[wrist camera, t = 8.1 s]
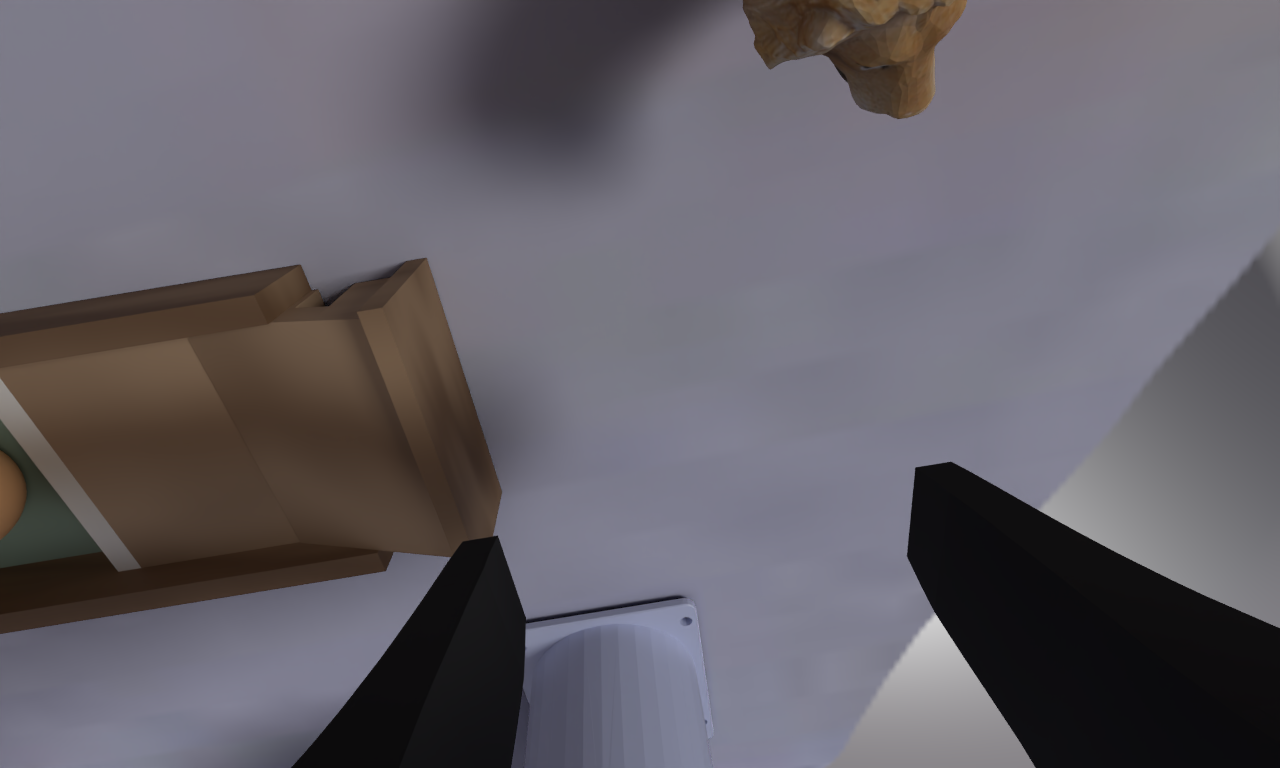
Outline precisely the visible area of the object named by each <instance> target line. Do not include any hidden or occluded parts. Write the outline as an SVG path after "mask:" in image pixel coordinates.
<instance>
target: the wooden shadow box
mask: <svg viewBox="0 0 1280 768" xmlns="http://www.w3.org/2000/svg"><path fill="white" fill-rule="evenodd" d="M0 450H1V451H3V452H4V453H5V454H7V455H8V456H9V457H10V458H11V459H12V460H13V461H14V462H15V463H16V464H17V465H18V467H19V469H20V470H21V472H22V474H23V476H24V479H25V482H26V489H27V497H26V503H25V506H24V510H23V512H22V514H21V516H20V518H19V520H18V521H17V523H16V524H15V526H14V527H13V528H12V529H11V530H10V532H9V533H8V534H7V535H6V536H5V537H3V538H2V539H1V540H0V634H2V633H9V632H15V631H21V630H27V629H33V628H39V627H45V626H52V625H58V624H64V623H70V622H76V621H82V620H88V619H95V618H101V617H107V616H113V615H119V614H125V613H131V612H137V611H144V610H150V609H156V608H162V607H168V606H174V605H180V604H187V603H193V602H199V601H205V600H211V599H217V598H223V597H229V596H236V595H242V594H248V593H254V592H260V591H266V590H272V589H279V588H285V587H291V586H297V585H303V584H309V583H315V582H322V581H328V580H334V579H340V578H346V577H352V576H358V575H364V574H371V573H377V572H383V571H386V569H387V567H388V565H389V562H390V560H391V557H392V555H393V552H402V553H413V554H424V555H434V556H445V557H452V555H453V554H454V552H455V551H456V550H457V548H458V547H459V546H460V544H461V543H462V542H463V541H468V540H474V539H480V538H487V537H493V533H494V528H495V523H496V518H497V514H498V509H499V504H500V499H501V495H502V491H501V488H500V484H499V481H498V478H497V475H496V472H495V469H494V466H493V463H492V460H491V456H490V453H489V450H488V447H487V444H486V441H485V438H484V435H483V432H482V429H481V425H480V422H479V419H478V416H477V413H476V410H475V407H474V404H473V401H472V397H471V394H470V391H469V388H468V385H467V382H466V379H465V376H464V373H463V370H462V366H461V363H460V360H459V357H458V354H457V351H456V348H455V345H454V342H453V338H452V335H451V332H450V329H449V326H448V323H447V320H446V317H445V314H444V311H443V307H442V304H441V301H440V298H439V295H438V292H437V289H436V286H435V283H434V279H433V276H432V273H431V270H430V267H429V264H428V261H427V258H423V259H417V260H411V261H406V262H405V263H404V264H403V265H402V266H401V267H400V268H399V269H398V270H397V271H396V272H395V273H394V274H393V275H392V276H391V277H390V278H385V279H378V280H372V281H366V282H360V283H354V284H353V285H352V286H351V287H350V288H349V289H348V290H347V291H346V292H344V293H343V294H342V295H341V296H340V297H339V298H338V299H337V300H335V301H334V302H333V303H332V304H331V305H330V306H325V304H324V302H323V300H322V297H321V295H320V292H319V290H318V289H317V290H311V288H310V286H309V283H308V281H307V279H306V276H305V274H304V272H303V269H302V267H301V265H294V266H288V267H282V268H276V269H270V270H264V271H258V272H252V273H245V274H239V275H233V276H227V277H221V278H215V279H209V280H203V281H197V282H191V283H184V284H178V285H172V286H166V287H160V288H154V289H148V290H142V291H136V292H129V293H123V294H117V295H111V296H105V297H99V298H93V299H87V300H81V301H74V302H68V303H62V304H56V305H50V306H44V307H38V308H32V309H26V310H19V311H13V312H7V313H1V314H0Z"/></svg>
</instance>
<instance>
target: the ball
mask: <svg viewBox="0 0 1280 768" xmlns="http://www.w3.org/2000/svg"><path fill="white" fill-rule="evenodd" d="M26 497H27V489H26V482H25V479H24V476H23V474H22V472H21V470H20V469H19V467H18V465H17V464H16V463H15V462H14V461H13V460H12V459H11V458H10V457H9V456H8V455H7V454H5V453H4V452H3V451H1V450H0V540H1V539H2V538H3V537H5V536H6V535H7V534H8V533H9V532H10V530H11V529H12V528H13V527H14V526H15V524H16V523H17V521H18V520H19V518H20V516H21V514H22V512H23V510H24V506H25V503H26Z"/></svg>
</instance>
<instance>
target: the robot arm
mask: <svg viewBox="0 0 1280 768" xmlns="http://www.w3.org/2000/svg"><path fill="white" fill-rule="evenodd" d="M907 557H908V559H909V561H910V564H911V566H912V568H913V570H914V572H915V574H916V576H917V578H918V580H919V582H920V585H921V587H922V589H923V590H924V592H925V594H926V596H927V598H928V600H929V602H930V604H931V606H932V608H933V610H934V612H935V613H936V615H937V616H938V618H939V620H940V621H941V623H942V624H943V626H944V627H945V629H946V630H947V632H948V634H949V635H950V637H951V638H952V639H953V641H954V643H955V644H956V646H957V647H958V649H959V650H960V652H961V653H962V655H963V657H964V658H965V660H966V661H967V662H968V664H969V666H970V667H971V669H972V670H973V672H974V673H975V675H976V676H977V678H978V679H979V681H980V682H981V684H982V685H983V687H984V688H985V689H986V691H987V693H988V694H989V696H990V697H991V698H992V700H993V702H994V703H995V705H996V706H997V708H998V709H999V711H1000V712H1001V714H1002V715H1003V717H1004V718H1005V720H1006V721H1007V723H1008V724H1009V726H1010V727H1011V729H1012V731H1013V732H1014V733H1015V735H1016V737H1017V738H1018V739H1019V741H1020V743H1021V744H1022V746H1023V748H1024V749H1025V751H1026V753H1027V754H1028V756H1029V757H1030V759H1031V761H1032V762H1033V764H1034V766H1035V767H1036V768H1280V628H1278V627H1275V626H1273V625H1271V624H1268V623H1266V622H1264V621H1262V620H1259V619H1257V618H1255V617H1252V616H1250V615H1248V614H1246V613H1243V612H1241V611H1239V610H1236V609H1234V608H1232V607H1229V606H1227V605H1225V604H1223V603H1220V602H1218V601H1216V600H1213V599H1211V598H1209V597H1206V596H1204V595H1202V594H1200V593H1198V592H1196V591H1194V590H1192V589H1189V588H1187V587H1185V586H1183V585H1181V584H1178V583H1177V582H1174V581H1172V580H1170V579H1168V578H1166V577H1164V576H1162V575H1160V574H1158V573H1156V572H1154V571H1152V570H1150V569H1148V568H1146V567H1144V566H1142V565H1140V564H1138V563H1136V562H1134V561H1132V560H1130V559H1128V558H1126V557H1124V556H1122V555H1120V554H1118V553H1116V552H1114V551H1112V550H1110V549H1108V548H1106V547H1105V546H1103V545H1101V544H1099V543H1097V542H1095V541H1093V540H1092V539H1089V538H1088V537H1086V536H1084V535H1082V534H1080V533H1078V532H1076V531H1075V530H1073V529H1071V528H1069V527H1068V526H1066V525H1064V524H1062V523H1060V522H1058V521H1057V520H1055V519H1053V518H1051V517H1049V516H1048V515H1046V514H1044V513H1042V512H1040V511H1039V510H1037V509H1035V508H1033V507H1032V506H1030V505H1028V504H1026V503H1025V502H1023V501H1021V500H1019V499H1017V498H1016V497H1014V496H1012V495H1010V494H1009V493H1007V492H1005V491H1003V490H1002V489H1000V488H998V487H996V486H995V485H993V484H991V483H989V482H988V481H986V480H984V479H982V478H980V477H979V476H977V475H975V474H973V473H971V472H970V471H968V470H966V469H964V468H962V467H960V466H958V465H956V464H954V463H952V462H947V463H941V464H934V465H928V466H922V467H916V468H915V478H914V489H913V499H912V510H911V520H910V531H909V541H908V552H907ZM685 617H688V618H685ZM522 689H523V690H524V692H525V695H526V698H527V700H528V703H529V706H530V709H529V719H528V730H527V740H526V751H525V761H524V768H713V763H712V758H711V752H710V746H709V741H708V740H709V739H710V738H711V737H712V736H713V734H714V730H713V723H712V716H711V709H710V702H709V695H708V688H707V681H706V674H705V667H704V660H703V652H702V645H701V638H700V631H699V624H698V617H697V610H696V605H695V603H694V601H693V600H691V599H688V598H680V599H674V600H668V601H662V602H656V603H649V604H643V605H637V606H631V607H625V608H619V609H613V610H606V611H600V612H594V613H588V614H582V615H576V616H570V617H563V618H557V619H551V620H545V621H539V622H533V623H527V624H526V617H525V614H524V611H523V608H522V605H521V602H520V599H519V597H518V594H517V591H516V588H515V585H514V582H513V579H512V576H511V573H510V570H509V567H508V564H507V561H506V558H505V556H504V553H503V550H502V547H501V544H500V541H499V538H498V536H493V537H487V538H480V539H474V540H468V541H463V542H462V543H461V544H460V546H459V547H458V548H457V550H456V551H455V552H454V554H453V555H452V557H451V558H450V560H449V561H448V563H447V564H446V566H445V567H444V569H443V570H442V572H441V573H440V575H439V576H438V577H437V579H436V580H435V582H434V583H433V585H432V586H431V588H430V589H429V591H428V592H427V594H426V595H425V597H424V598H423V600H422V601H421V602H420V604H419V605H418V607H417V608H416V610H415V611H414V613H413V614H412V615H411V617H410V618H409V620H408V621H407V622H406V624H405V625H404V627H403V628H402V629H401V631H400V632H399V634H398V635H397V636H396V638H395V639H394V641H393V642H392V643H391V645H390V646H389V648H388V649H387V650H386V652H385V653H384V655H383V656H382V657H381V659H380V660H379V661H378V663H377V664H376V665H375V666H374V668H373V669H372V670H371V672H370V673H369V674H368V675H367V677H366V678H365V679H364V681H363V682H362V683H361V684H360V686H359V687H358V688H357V690H356V691H355V692H354V693H353V695H352V696H351V697H350V699H349V700H348V701H347V702H346V704H345V705H344V706H343V708H342V709H341V710H340V711H339V713H338V714H337V715H336V716H335V717H334V719H333V720H332V721H331V722H330V723H329V725H328V726H327V727H326V728H325V730H324V731H323V732H322V733H321V734H320V735H319V737H318V738H317V739H316V740H315V741H314V743H313V744H312V745H311V746H310V747H309V748H308V750H307V751H306V752H305V753H304V754H303V755H302V756H301V757H300V758H299V760H298V761H297V762H296V763H295V764H294V765H293V766H292V767H291V768H511V764H512V757H513V750H514V744H515V737H516V730H517V724H518V717H519V710H520V703H521V696H522Z"/></svg>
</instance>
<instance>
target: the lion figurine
mask: <svg viewBox="0 0 1280 768" xmlns="http://www.w3.org/2000/svg"><path fill="white" fill-rule="evenodd" d="M966 2H967V0H743V10H744V12H745V14H746V16H747V18H748V20H749V24H750V26H751V28H752V30H753V32H754V34H755V40H754V46H755V49H756V50H757V52H758V53H759V55H760V56H761V58H762V59H763V61H764V62H765V64H766V66H767V67H768V68H769V69H770V70H771V69H772V68H774V67H775V66H777V65H778V64H780V63H782V62H785V61H789V60H798V59H802V58H805V57H810V56H815V55H821V54H822V55H825V56H827V57H829V59H830V60H831V61H832V63H833V64H834V65H835V67H836V69H837V70H838V72H839V73H840V75H841V76H842V78H843V79H844V80H845V81H846V82H848V84H849V87H850V91H851V94H852V97H853V99H854V101H855V103H856V104H857V105H858V106H859V107H860V108H861V109H864V110H867V111H870V112H873V113H878V114H887V115H889V116H891V117H893V118H897V119H902V118H908V117H911V116H914V115H917V114H919V113H921V112H922V111H924V110H925V109H926V108H927V107H928V105H929V104H930V102H931V100H932V98H933V96H934V94H935V73H934V70H935V57H934V48H935V46H936V45H937V43H938V42H939V41H940V40H941V39H942V38H943V37H944V36H946V35H947V34H948V33H949V31H950V30H951V28H952V26H953V25H954V24H955V22H956V21H957V20H958V19H959V18H960V16H961V14H962V13H963V11H964V9H965V7H966Z"/></svg>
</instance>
